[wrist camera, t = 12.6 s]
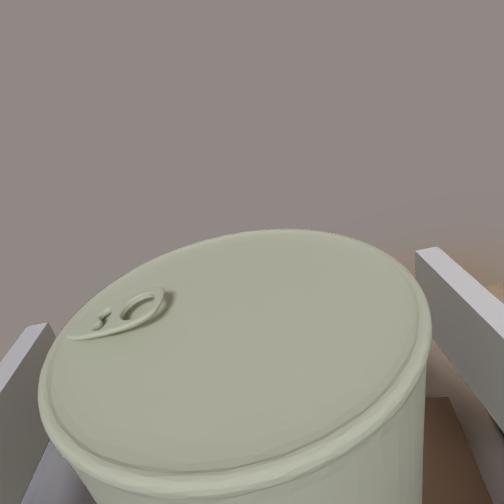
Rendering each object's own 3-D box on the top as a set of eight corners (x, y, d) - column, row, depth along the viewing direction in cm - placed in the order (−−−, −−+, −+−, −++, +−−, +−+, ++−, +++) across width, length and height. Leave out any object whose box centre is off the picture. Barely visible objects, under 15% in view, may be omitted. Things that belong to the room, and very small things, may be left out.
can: (190, 458, 19) (105, 241, 14) (379, 434, 19) (366, 195, 13) (146, 760, 11) (-101, 509, 6) (483, 735, 10) (558, 424, 5)
